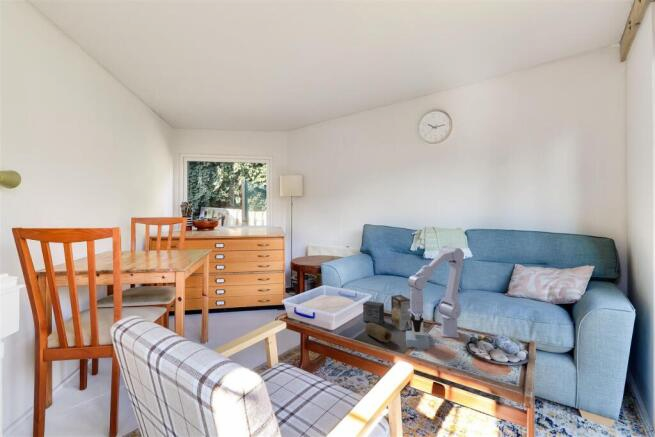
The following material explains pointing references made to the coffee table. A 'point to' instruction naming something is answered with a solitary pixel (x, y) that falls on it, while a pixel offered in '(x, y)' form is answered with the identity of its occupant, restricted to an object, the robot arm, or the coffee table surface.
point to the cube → (417, 332)
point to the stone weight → (378, 332)
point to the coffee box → (400, 312)
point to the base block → (417, 340)
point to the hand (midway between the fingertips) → (416, 329)
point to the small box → (373, 312)
